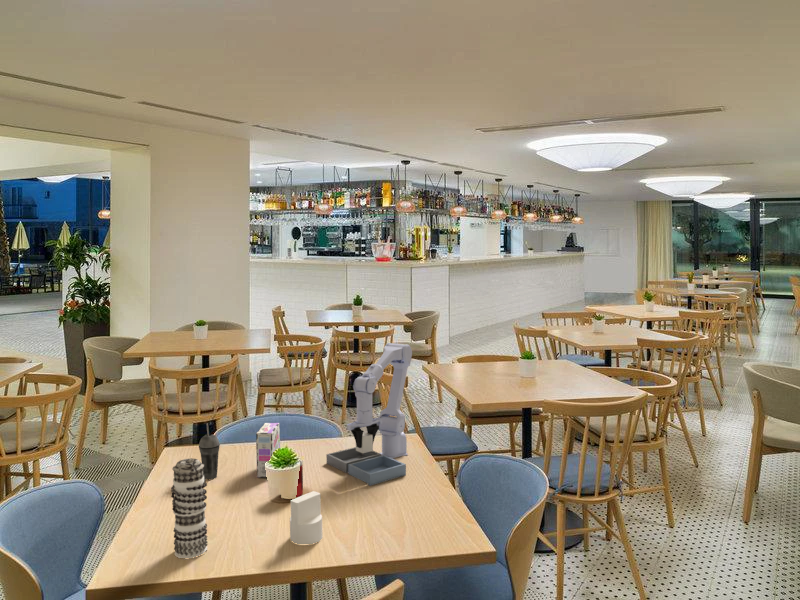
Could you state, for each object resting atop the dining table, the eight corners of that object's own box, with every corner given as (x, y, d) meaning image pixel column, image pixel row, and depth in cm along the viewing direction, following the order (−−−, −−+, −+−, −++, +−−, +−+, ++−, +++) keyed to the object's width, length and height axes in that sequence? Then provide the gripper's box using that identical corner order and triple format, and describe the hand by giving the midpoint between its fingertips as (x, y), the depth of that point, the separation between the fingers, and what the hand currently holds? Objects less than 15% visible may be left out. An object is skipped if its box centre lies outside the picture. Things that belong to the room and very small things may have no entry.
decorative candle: (212, 543, 176) (210, 455, 174) (203, 559, 167) (200, 467, 164) (179, 543, 176) (176, 455, 173) (168, 560, 166) (165, 467, 164)
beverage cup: (224, 473, 229) (222, 419, 228) (216, 481, 222) (214, 425, 220) (204, 473, 230) (202, 419, 228) (196, 480, 223) (194, 424, 221)
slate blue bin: (383, 465, 237) (383, 455, 237) (405, 475, 227) (405, 464, 227) (348, 475, 227) (348, 464, 227) (369, 485, 217) (369, 474, 217)
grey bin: (361, 455, 249) (361, 445, 248) (381, 464, 239) (381, 454, 238) (326, 464, 239) (326, 454, 238) (346, 474, 229) (345, 463, 228)
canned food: (274, 497, 208) (273, 464, 207) (289, 489, 215) (288, 457, 214) (292, 501, 204) (292, 468, 203) (307, 493, 211) (307, 461, 210)
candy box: (272, 478, 225) (271, 432, 223) (256, 478, 225) (255, 432, 224) (281, 464, 239) (280, 422, 237) (265, 464, 239) (264, 422, 237)
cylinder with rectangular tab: (307, 528, 185) (306, 488, 184) (329, 537, 179) (328, 496, 178) (283, 539, 178) (282, 497, 177) (305, 548, 172) (304, 506, 171)
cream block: (365, 448, 236) (365, 432, 235) (372, 450, 232) (372, 434, 232) (355, 450, 233) (355, 434, 233) (362, 453, 229) (362, 437, 229)
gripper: (374, 404, 239) (374, 439, 240) (341, 410, 230) (342, 447, 231) (385, 408, 233) (385, 444, 234) (352, 414, 224) (353, 452, 225)
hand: (364, 446), depth 232 cm, fingers closed on cream block, 4 cm apart
